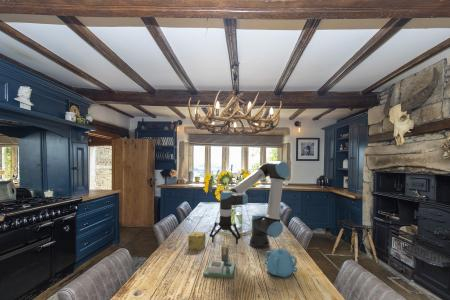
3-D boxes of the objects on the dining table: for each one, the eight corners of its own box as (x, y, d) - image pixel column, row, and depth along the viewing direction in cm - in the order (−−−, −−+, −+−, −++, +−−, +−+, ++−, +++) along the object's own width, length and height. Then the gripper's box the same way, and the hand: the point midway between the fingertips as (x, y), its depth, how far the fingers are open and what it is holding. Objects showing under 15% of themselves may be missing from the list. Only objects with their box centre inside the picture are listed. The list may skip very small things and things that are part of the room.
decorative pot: (299, 279, 135) (299, 254, 135) (271, 280, 133) (271, 255, 133) (288, 266, 151) (289, 244, 151) (263, 267, 149) (263, 244, 150)
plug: (228, 259, 160) (228, 244, 160) (227, 263, 154) (227, 247, 155) (222, 259, 160) (222, 243, 161) (221, 262, 155) (221, 246, 155)
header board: (235, 264, 153) (235, 257, 153) (232, 278, 135) (232, 270, 135) (210, 262, 155) (210, 255, 155) (203, 276, 137) (203, 268, 137)
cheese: (201, 250, 175) (201, 236, 175) (187, 249, 177) (187, 235, 177) (205, 245, 185) (205, 232, 185) (192, 244, 187) (192, 231, 187)
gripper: (245, 215, 160) (244, 247, 160) (207, 212, 164) (207, 245, 163) (244, 217, 153) (243, 252, 152) (205, 215, 156) (204, 249, 156)
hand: (224, 248), depth 158 cm, fingers open, 13 cm apart
